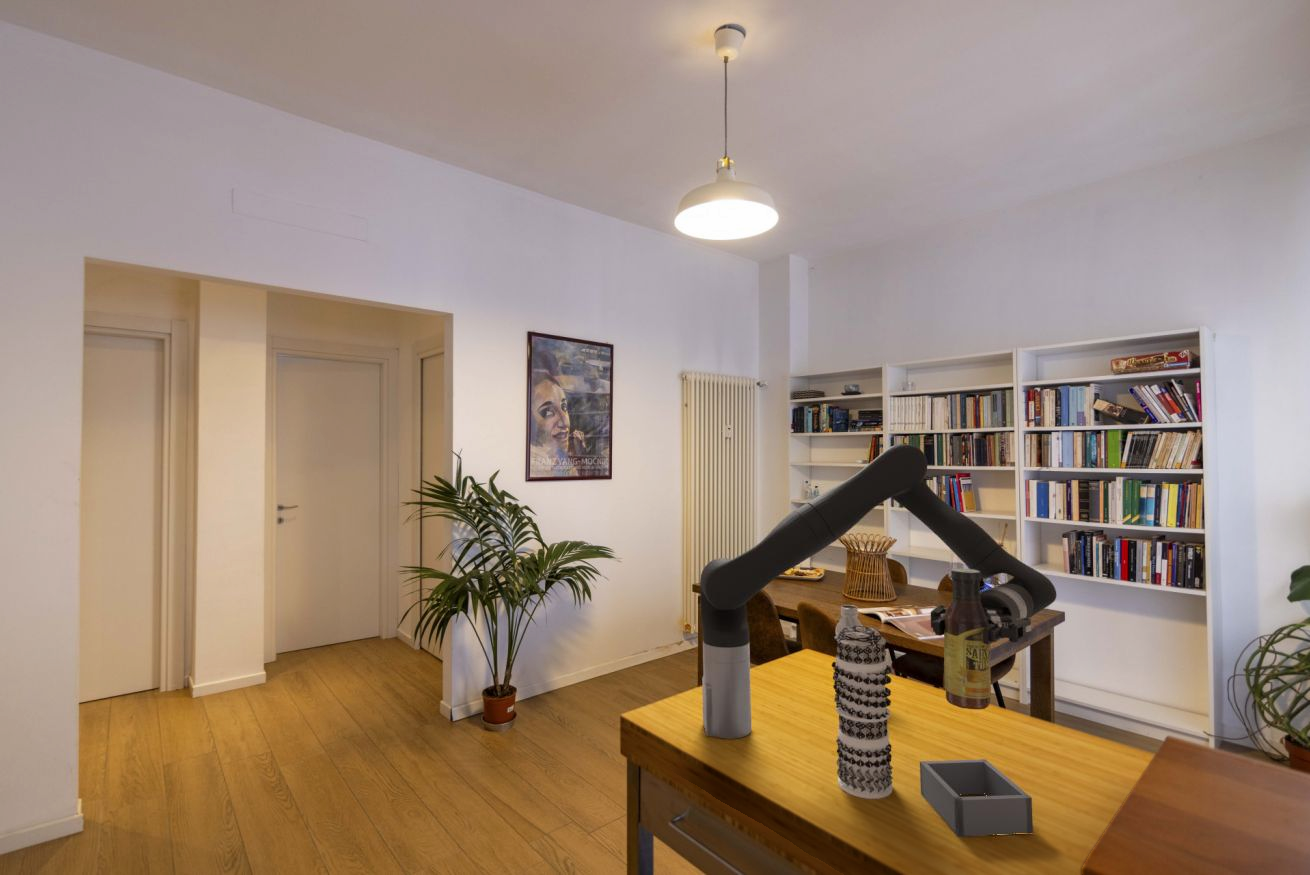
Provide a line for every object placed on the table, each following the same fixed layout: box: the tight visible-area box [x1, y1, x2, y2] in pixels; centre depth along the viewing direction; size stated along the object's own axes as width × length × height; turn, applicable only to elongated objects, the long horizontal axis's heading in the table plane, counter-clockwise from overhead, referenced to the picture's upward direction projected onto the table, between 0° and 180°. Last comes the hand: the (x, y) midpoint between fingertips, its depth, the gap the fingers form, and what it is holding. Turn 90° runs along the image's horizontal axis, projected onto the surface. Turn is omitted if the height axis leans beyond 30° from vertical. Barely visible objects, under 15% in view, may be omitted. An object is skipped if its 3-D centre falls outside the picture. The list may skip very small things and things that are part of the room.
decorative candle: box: [831, 625, 893, 800], centre depth 103 cm, size 9×9×25 cm
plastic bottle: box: [834, 604, 863, 688], centre depth 141 cm, size 6×7×20 cm
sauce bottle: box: [943, 568, 992, 711], centre depth 95 cm, size 6×6×20 cm
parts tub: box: [919, 758, 1034, 838], centre depth 94 cm, size 11×12×5 cm
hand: (961, 632), depth 93 cm, fingers closed on sauce bottle, 6 cm apart
